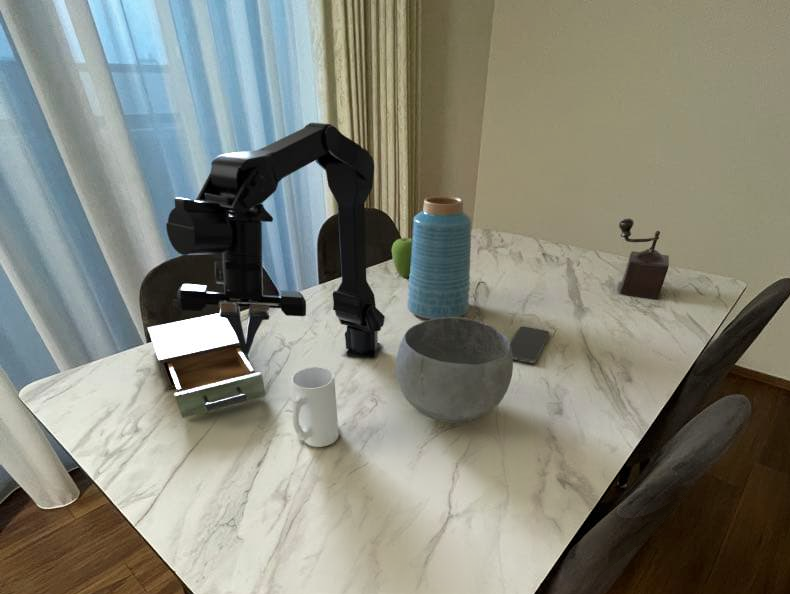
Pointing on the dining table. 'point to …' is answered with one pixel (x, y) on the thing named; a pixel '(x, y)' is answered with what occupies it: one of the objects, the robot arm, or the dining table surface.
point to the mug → (315, 406)
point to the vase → (440, 259)
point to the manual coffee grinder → (643, 267)
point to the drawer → (214, 381)
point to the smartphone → (528, 344)
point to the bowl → (454, 368)
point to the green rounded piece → (402, 255)
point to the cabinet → (191, 340)
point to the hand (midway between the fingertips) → (245, 353)
